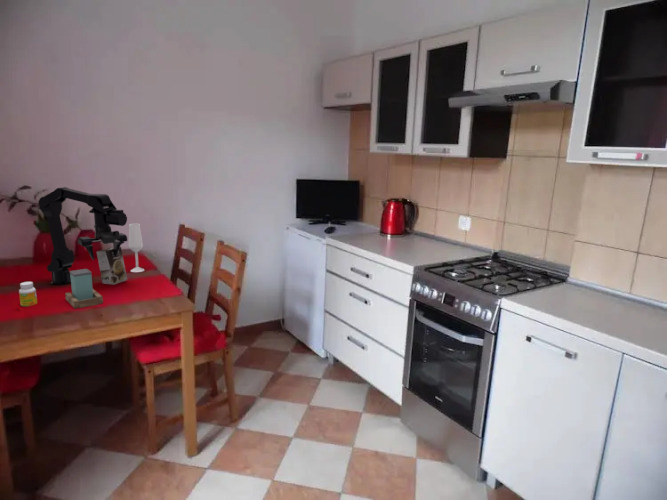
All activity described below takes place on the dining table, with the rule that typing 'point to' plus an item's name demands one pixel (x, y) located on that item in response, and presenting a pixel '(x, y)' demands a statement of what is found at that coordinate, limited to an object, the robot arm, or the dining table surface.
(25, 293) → the supplement bottle
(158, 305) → the dining table surface
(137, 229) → the champagne flute
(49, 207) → the robot arm
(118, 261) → the coffee box
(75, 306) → the walnut track
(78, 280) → the grey teal box
